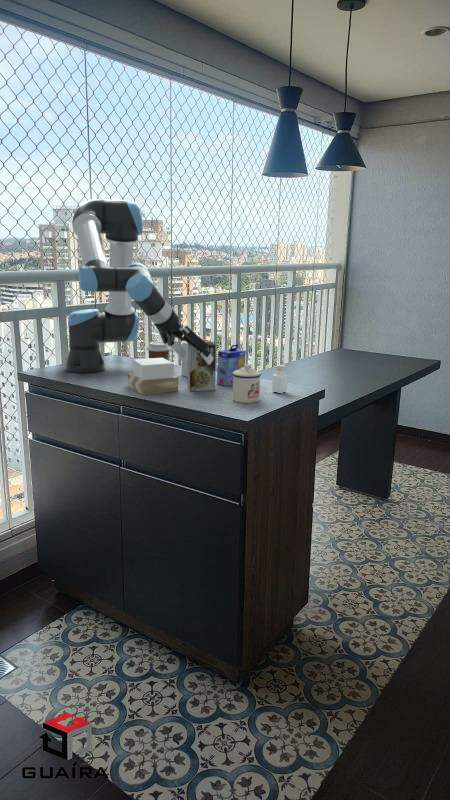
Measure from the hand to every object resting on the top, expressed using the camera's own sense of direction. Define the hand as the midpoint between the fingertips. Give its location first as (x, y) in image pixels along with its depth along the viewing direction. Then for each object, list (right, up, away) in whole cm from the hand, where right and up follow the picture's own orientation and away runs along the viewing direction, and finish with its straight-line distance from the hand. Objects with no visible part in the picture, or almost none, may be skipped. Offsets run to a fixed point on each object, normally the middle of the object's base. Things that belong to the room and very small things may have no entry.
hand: (197, 358), depth 189 cm
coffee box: (+1, -10, +6) cm, 12 cm away
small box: (-2, -5, +26) cm, 27 cm away
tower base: (-16, -10, +4) cm, 19 cm away
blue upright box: (+12, -8, +15) cm, 21 cm away
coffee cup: (-16, -4, +28) cm, 33 cm away
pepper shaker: (+28, -12, +4) cm, 31 cm away
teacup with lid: (+17, -14, -7) cm, 23 cm away
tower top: (-15, -6, +3) cm, 17 cm away
